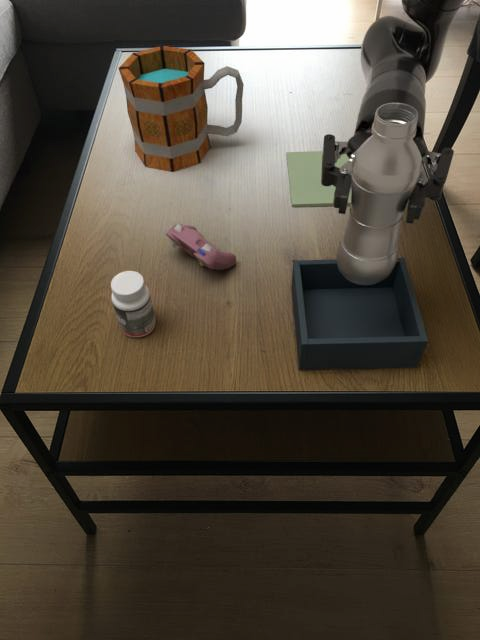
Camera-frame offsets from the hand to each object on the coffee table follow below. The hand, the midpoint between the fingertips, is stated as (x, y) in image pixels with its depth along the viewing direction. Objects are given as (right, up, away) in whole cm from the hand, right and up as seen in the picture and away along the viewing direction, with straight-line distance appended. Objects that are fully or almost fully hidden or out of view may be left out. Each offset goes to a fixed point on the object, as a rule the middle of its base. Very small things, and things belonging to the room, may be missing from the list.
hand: (376, 211), depth 53 cm
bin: (+1, -11, +18) cm, 21 cm away
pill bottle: (-27, -11, +19) cm, 35 cm away
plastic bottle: (+1, -5, +10) cm, 11 cm away
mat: (+3, +13, +37) cm, 40 cm away
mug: (-22, +20, +44) cm, 53 cm away
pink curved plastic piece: (-19, -2, +27) cm, 33 cm away
